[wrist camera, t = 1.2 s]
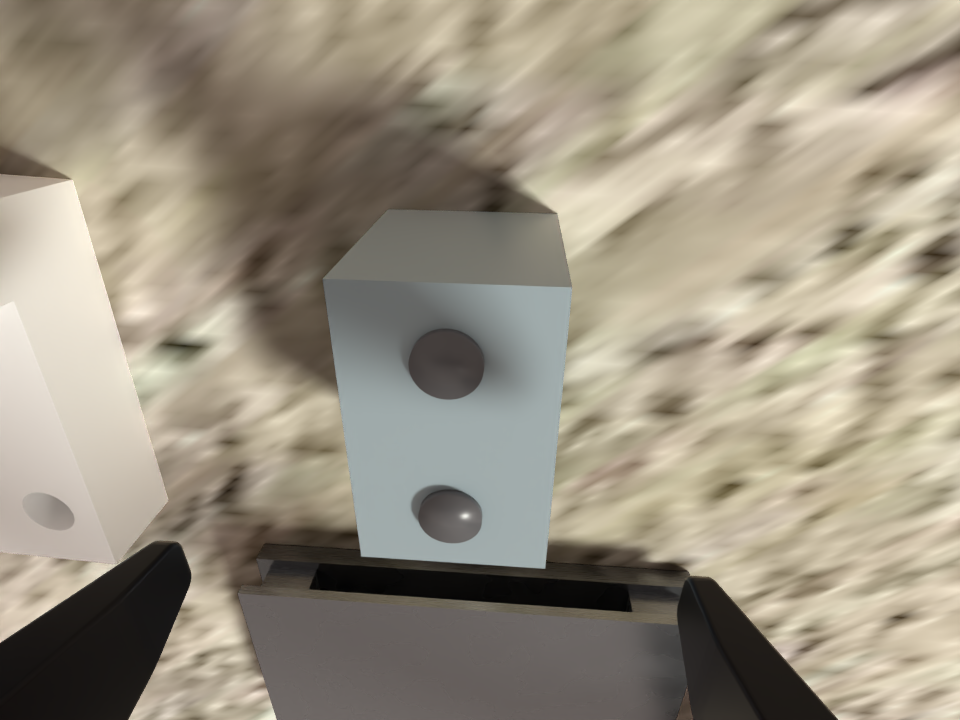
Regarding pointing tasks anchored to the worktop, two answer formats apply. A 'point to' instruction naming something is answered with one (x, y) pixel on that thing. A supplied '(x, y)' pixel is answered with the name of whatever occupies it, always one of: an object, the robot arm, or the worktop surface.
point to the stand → (463, 639)
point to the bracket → (65, 389)
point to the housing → (452, 382)
